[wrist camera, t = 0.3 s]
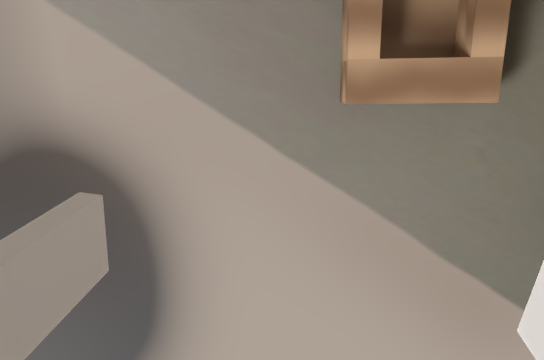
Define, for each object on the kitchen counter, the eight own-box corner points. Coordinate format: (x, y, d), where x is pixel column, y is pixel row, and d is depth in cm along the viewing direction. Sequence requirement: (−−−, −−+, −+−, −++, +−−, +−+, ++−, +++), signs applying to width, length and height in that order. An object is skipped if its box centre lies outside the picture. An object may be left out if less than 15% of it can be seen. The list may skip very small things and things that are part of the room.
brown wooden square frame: (344, -65, 33) (353, -91, 28) (489, -71, 32) (523, -99, 27) (339, 101, 36) (346, 103, 31) (470, 100, 35) (498, 102, 30)
